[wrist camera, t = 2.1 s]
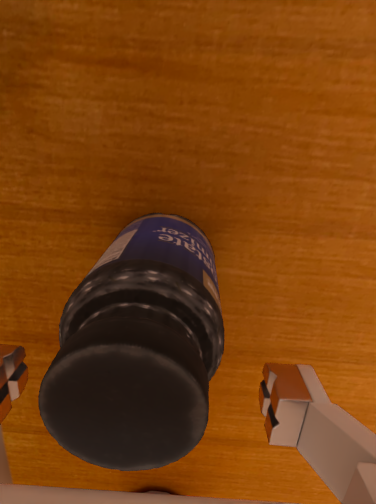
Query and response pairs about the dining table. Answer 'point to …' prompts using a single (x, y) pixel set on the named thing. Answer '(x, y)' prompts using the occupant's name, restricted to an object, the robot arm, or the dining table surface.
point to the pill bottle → (138, 349)
